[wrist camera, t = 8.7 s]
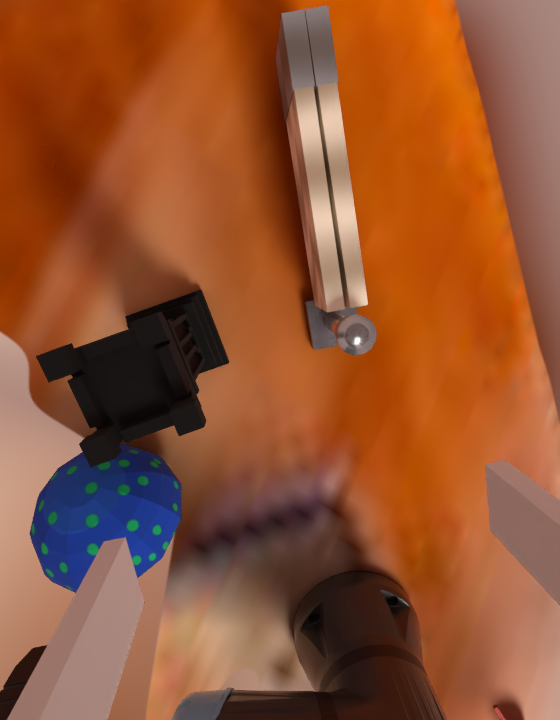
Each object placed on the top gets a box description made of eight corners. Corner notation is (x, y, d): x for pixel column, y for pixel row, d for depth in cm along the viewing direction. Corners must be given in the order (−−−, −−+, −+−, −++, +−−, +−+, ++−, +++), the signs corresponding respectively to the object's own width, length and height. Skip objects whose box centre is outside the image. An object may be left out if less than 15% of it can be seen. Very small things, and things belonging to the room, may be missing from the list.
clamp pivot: (357, 338, 45) (391, 359, 34) (311, 347, 45) (331, 371, 34) (350, 292, 44) (383, 298, 33) (304, 301, 44) (321, 310, 33)
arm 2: (330, 302, 42) (346, 309, 35) (313, 305, 42) (326, 312, 35) (294, 58, 38) (304, 9, 31) (275, 61, 38) (281, 13, 31)
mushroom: (88, 642, 42) (-8, 612, 30) (73, 515, 50) (-6, 455, 39) (221, 573, 44) (179, 522, 33) (184, 464, 53) (141, 394, 42)
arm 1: (349, 299, 42) (369, 304, 35) (333, 302, 42) (349, 308, 35) (313, 55, 38) (327, 5, 31) (294, 58, 38) (305, 9, 31)
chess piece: (201, 289, 43) (160, 304, 24) (229, 361, 45) (212, 430, 25) (127, 315, 43) (25, 352, 24) (158, 386, 45) (87, 475, 25)
